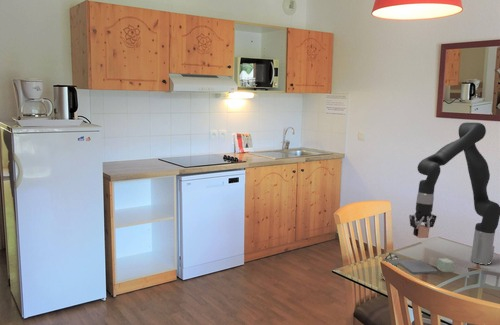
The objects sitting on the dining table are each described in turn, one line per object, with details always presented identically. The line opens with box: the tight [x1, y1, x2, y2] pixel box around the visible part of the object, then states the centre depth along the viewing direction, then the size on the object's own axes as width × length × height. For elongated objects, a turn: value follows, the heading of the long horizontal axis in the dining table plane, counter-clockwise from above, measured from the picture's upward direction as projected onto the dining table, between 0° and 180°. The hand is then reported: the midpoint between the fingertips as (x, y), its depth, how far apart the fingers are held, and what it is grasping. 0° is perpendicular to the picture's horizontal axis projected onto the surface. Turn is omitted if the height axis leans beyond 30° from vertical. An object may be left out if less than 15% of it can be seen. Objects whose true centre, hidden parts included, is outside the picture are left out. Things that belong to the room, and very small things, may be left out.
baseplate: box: [398, 259, 439, 275], centre depth 217 cm, size 14×14×1 cm
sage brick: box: [436, 257, 454, 273], centre depth 216 cm, size 5×5×5 cm
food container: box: [381, 251, 401, 277], centre depth 203 cm, size 12×6×10 cm, turn 148°
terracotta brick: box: [412, 224, 430, 239], centre depth 215 cm, size 5×5×5 cm
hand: (420, 235), depth 215 cm, fingers closed on terracotta brick, 5 cm apart
